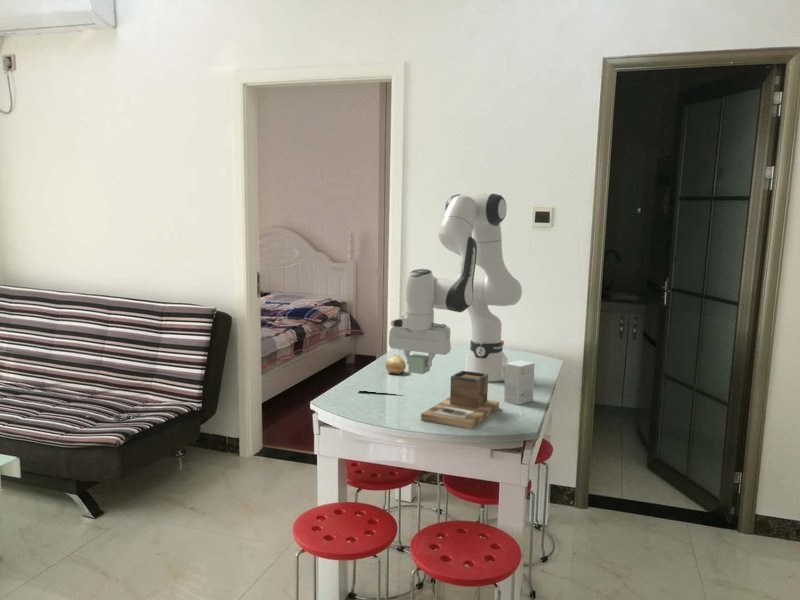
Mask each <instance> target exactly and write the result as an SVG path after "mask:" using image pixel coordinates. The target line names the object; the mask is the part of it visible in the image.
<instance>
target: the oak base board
mask: <svg viewBox="0 0 800 600" xmlns="http://www.w3.org/2000/svg"><path fill="white" fill-rule="evenodd" d="M488 387H489V382H488V374H484V373H476V372H469V371H465V370H460V371H458V372H456V373H455V374H453V375H451V376H450V388H449V389H450V393H449V394H450V396H449V397H447V398H446V399H444V400H442V401H440V402H439V403H437V404H435V405H434V406H432V407H429V409H427V410H425V411H423V412H421V414H420V419H421V420H420V421H424V422H429V423H430V422H431V423H435V424H441V425H447V426H451V427H458V428H459V427H460V428H464V429H469V430H472V429H473V428H474V427H476V426H477V425H479V424H480V423H481V422H482V421H484V420H485V419H486V418H488V417H489V416H490V415H492V414H493V413H494V412H496V411H497V410H498V409H500V401H495V400H488V391H489V388H488Z"/></svg>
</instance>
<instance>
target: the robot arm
mask: <svg viewBox="0 0 800 600" xmlns="http://www.w3.org/2000/svg"><path fill="white" fill-rule="evenodd" d="M506 202H507V201H506V200H505V198H504V197H503V196H502V195H501V194H497V193H486V192H485V193H481V192H474V193H465V194H460V193H458V194H454V195H451V196H450V197H449V198H448V199H447V200H446V202H445V207H444V214H443V216H442V217H441V220H440V224H439V228H438V230H437V231H438V232H437V233H438V235H437V236H438V239H439V242H440V243H441V244H442V246H444V248H446V249H447V250H448V251H450V252H452V253H454V254H456V255H457V256H460V262H459V268H458V276H457V277H455V278H454V279H448V278H447V279H445V278H438V277H435V276H434V275H433V271H432V270H430V269H426V268H420V269H414V270H412V271H410V272H409V273H408V275H407V278H406V283H405V284H406V286H405V300H406V309H405V315H403V316H400V317H397V318H394V319H392V320H391V321H390V325H391V328H390V330H389V334H388V346H389V348H390V349H393V350H400V351H403V355H404V356H405V360H406V364H407V365H409V356H411V355H410V353H411V352H416V353H417V352H418V353H423V354H424V353H426V354H427V355H428V356H430V358H429V360H427V361H425V366H426V367H430V368H431V367H432V365H433V360H434V358H435V357H436V355H442V356H444V355H448V354H449V353H450V352H451V350H452V346H451V344H452V343H451V328H450V327H449V326H448V325H447V324H445V323H435V312H434V311H435V309H437V310H448V311H452V312H456V313H463V312H465V311H466V310H467V311H468V315H469V317H470V321H471V340H470V342H469V343H470V345H469V348H470V349H469V350H470V351H469V352H468V353H467V354H466V361H465V370H464V371H469V372H476V373H484V374H488V383H489V382H490V383H491V382H500V381H503V382H505V363H509V361H508V357H507V356H506V354H505V353H504V351H503V350H504V348H503V347H504V345H505V341H504V340H502V327H503V326H502V322H501V319H500V318H499V317H498V316H496V315H495V314H493V313H492V312H491V311H490V309H489V306H495V307H506V306H515V305H517V304H518V303H519V302H520V300H521V298H522V295H523V289H522V285H521V283H520V282H519V280H518V279H516V278H515V277H514V276H513V275H512V274H511V273H510V271H509V270H508V268H507V267H506V264H505V262H504V256H503V248H502V247H503V246H502V245H503V244H502V241H503V240H502V238H503V237H502V227H501V223H502V222H503V221H504V220H505V217H506V215H507V203H506ZM476 266H477V267H479V268H481V269H482V270H483V271H484V272H485V275H478V274H475V271H476V270H475V269H476Z"/></svg>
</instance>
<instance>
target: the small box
mask: <svg viewBox="0 0 800 600" xmlns="http://www.w3.org/2000/svg"><path fill="white" fill-rule="evenodd" d="M534 382H535V362H532V361H526V360H521V359H519V360H514V361H508V363H505V381H504V396H503V397H504V398H503V401H504V402H506V403H509V404H512V405H517V406H521V405H524V404H528V403H530V402H533V401H534V391H535V390H534V385H535V383H534Z"/></svg>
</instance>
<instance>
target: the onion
mask: <svg viewBox="0 0 800 600" xmlns="http://www.w3.org/2000/svg"><path fill="white" fill-rule="evenodd" d="M406 364H407V363H406V362H405V360H404V359H403V358H402V357H400V354H397V355H396V354H395V355H394V356H392V357H390V358H388V359H387V360H386V362H385V365H384V366H385V369H386V371H387V372H390V373H389V374H391V373H397V374H396V375H400V374H401V373H404V372H405V370H406V366H407V365H406Z"/></svg>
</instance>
